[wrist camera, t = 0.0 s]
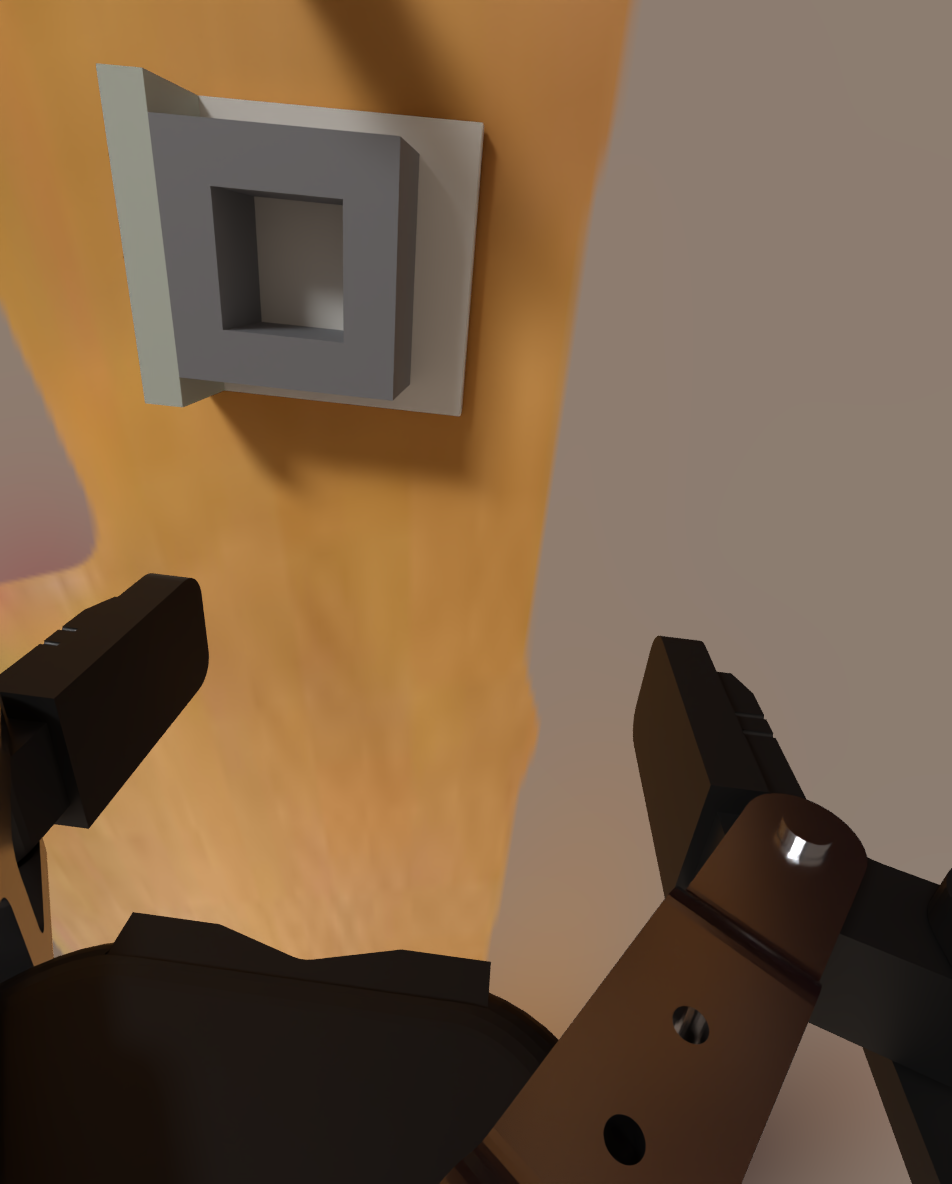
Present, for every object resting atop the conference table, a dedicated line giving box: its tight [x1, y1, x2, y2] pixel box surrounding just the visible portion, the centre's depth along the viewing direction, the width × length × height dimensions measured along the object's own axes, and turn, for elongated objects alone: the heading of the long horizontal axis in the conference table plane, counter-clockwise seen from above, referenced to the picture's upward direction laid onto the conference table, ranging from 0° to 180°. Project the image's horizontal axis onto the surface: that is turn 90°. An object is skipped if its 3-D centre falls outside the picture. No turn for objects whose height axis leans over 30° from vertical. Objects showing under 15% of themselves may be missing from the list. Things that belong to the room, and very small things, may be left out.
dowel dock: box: [96, 63, 484, 416], centre depth 32 cm, size 14×16×6 cm
